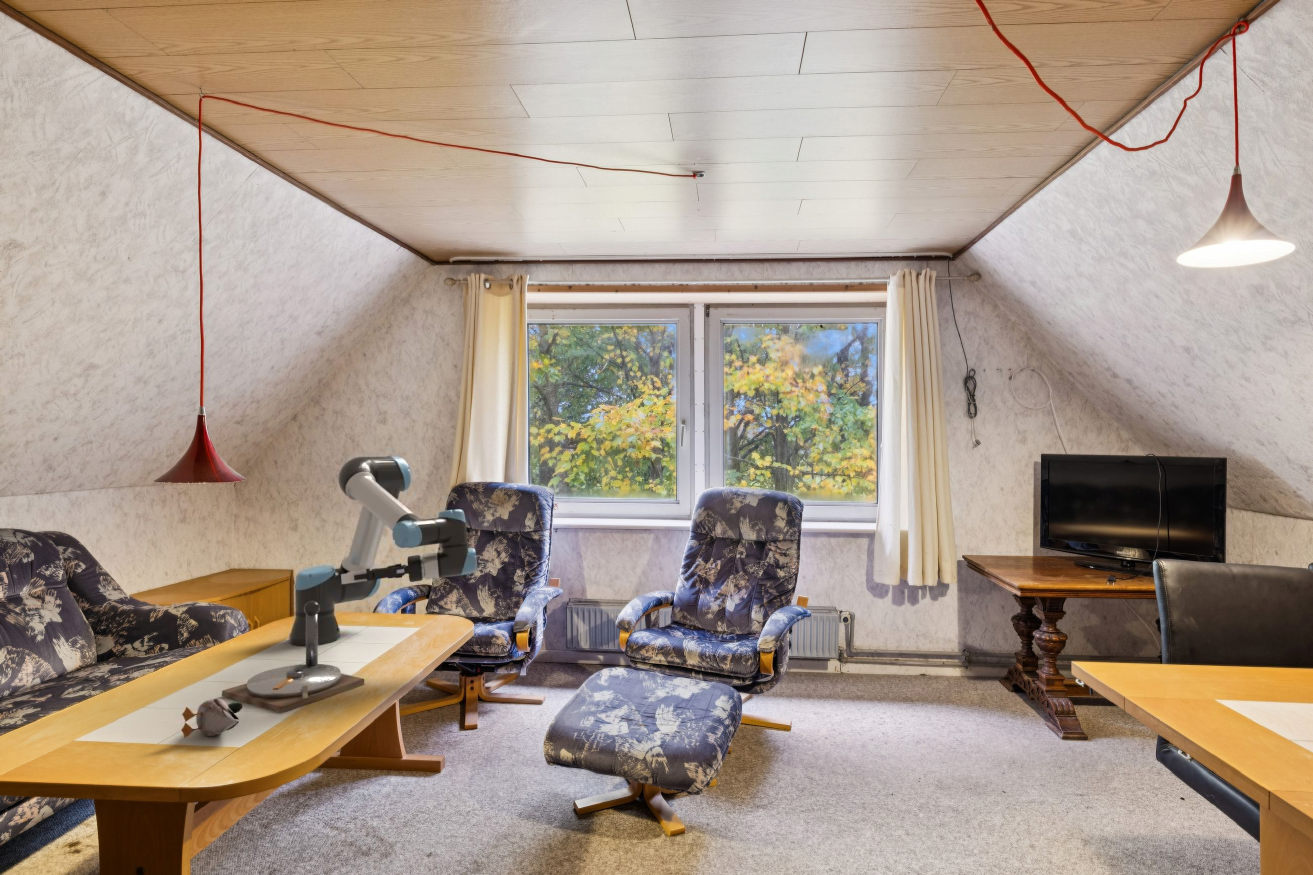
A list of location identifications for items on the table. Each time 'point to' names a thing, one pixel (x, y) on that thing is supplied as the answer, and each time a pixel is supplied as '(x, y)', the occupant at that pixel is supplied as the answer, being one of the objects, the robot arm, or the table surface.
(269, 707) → the walnut stand board
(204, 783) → the table surface
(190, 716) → the decorative duck model
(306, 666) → the dial
